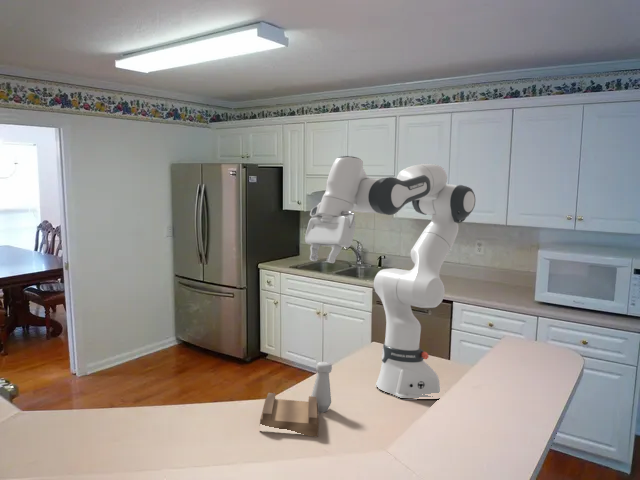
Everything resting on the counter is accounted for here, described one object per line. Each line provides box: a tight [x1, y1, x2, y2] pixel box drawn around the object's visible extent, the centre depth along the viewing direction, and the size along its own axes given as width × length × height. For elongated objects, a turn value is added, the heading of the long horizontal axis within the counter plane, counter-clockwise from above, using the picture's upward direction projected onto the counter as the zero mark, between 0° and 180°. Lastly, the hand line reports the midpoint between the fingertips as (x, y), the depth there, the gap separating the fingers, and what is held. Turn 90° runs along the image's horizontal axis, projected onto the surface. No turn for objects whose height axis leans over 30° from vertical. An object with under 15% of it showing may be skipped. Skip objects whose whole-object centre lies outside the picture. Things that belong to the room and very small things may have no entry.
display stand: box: [259, 392, 320, 438], centre depth 118 cm, size 14×14×4 cm
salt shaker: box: [311, 361, 333, 414], centre depth 128 cm, size 6×6×13 cm
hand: (321, 261), depth 124 cm, fingers open, 8 cm apart
